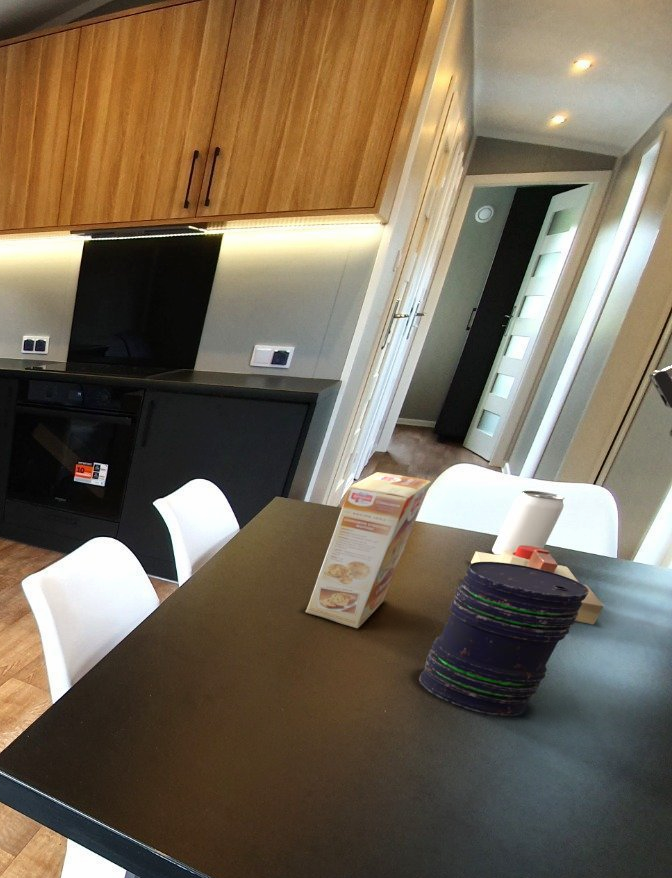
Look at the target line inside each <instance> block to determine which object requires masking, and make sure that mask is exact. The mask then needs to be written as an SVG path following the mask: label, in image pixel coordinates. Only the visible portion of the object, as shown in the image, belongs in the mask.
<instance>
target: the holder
mask: <svg viewBox="0 0 672 878" xmlns="http://www.w3.org/2000/svg"><path fill="white" fill-rule="evenodd" d="M555 561H556V559H554V558H553V556H552V555H551V554H550V551H549V550H547V549H544V550H542V549H536V550H534V552H533V554H532V556H531V558H530V560H529V562H528V564H527V567H532V568H537V569H541V570H545V571H549V572H552V573H554V571H555V569H556V567H557V565H559V564H558V563H557V561H556V562H555Z"/></svg>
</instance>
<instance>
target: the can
mask: <svg viewBox="0 0 672 878" xmlns="http://www.w3.org/2000/svg"><path fill="white" fill-rule="evenodd" d="M564 500H565V496H563V495H560V494H556V493H553V492H552V493H551V492H546V491H540V490H539V491H538V490H522V491H521V494H519V496H517V497H516V498H515V499H514V501H513V503H512V505H511V507H510V509H509V512H508V513H507V515H506V518H505V520H504V522H503V525H502V527H501V529H500V531H499V533H498V535H497V537H496V540H495V542H494V544H493V546H492V549H491V551H492V554H494V555H500V556H501V554H502V552H503V551H505V550H517V548H518V546H521V545H525V546H533V547H538V548H541V549H545V546H546V545H547V542H548V540H549V538H550V536H551V534H552V532H553V530H554V529H555V526H556V524H557V522H558V520H559V518H560V517H561V514H562V511H563V509H564V508H565V507H564Z"/></svg>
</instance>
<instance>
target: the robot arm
mask: <svg viewBox="0 0 672 878" xmlns="http://www.w3.org/2000/svg"><path fill="white" fill-rule="evenodd" d="M648 377H649V379H650V381H651V382H652V384H653V386H654V388H655V389H656V392H657V393H658V395H659V397H660V399H661V401H662V402H663V404H664V406H665V407H666V408H669V409H672V365H671V366H667V367H664V368H663V369H657V370H653V371H651V372H650V373H649V375H648ZM669 436H670V437H672V428H671V429H670V430H669Z"/></svg>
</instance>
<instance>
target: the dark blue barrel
mask: <svg viewBox="0 0 672 878" xmlns="http://www.w3.org/2000/svg"><path fill="white" fill-rule="evenodd" d="M466 574H467V575H466ZM466 574H465V576H464V577H463V578H462V581H461V583H460V584H459V585H458V587H457V589H456V592H455V594H454V598H453V600H452V601H451V603H450V608H449V610H450V614H449V616H448V618H447V621H446V623H445V625H444V628H443V629H442V632H441V634H440V635H438V636H437V637H436V638H435V640H434V641H433V642H432V646H431V648H430V650H429V651H428V654H427V656H426V659H425V660H426V662H425V664H424V666H423V668H424V669H423V670H422V671H421V672H420V675H419V677H418V680H419V683H420V685H422V686H423V687H424V689H425V690H427V691H428V692H430V693H431V694H433V695H434V696H436V697H438V698H440V699H442V700H443V701H446V702H448V703H450V704H453V705H456V706H458V707H461V708H464V709H467V710H470V711H473V712H478V713H483V714H487V715H493V716H499V717H500V716H501V717H504V716H505V717H512V716H518V715H521V714H524V712H525V710H526V708H527V702H529V701H530V700H531V699H532V697H533V695H535V694H536V693H537V691H538V689H539V687H540V685H541V684H542V683H541V682H542V680H543V679H545V678H546V673H547V671H548V669H547V666H546V665H547V663H549V662H548V661H549V660H550V658H551V656H552V654H553V653H554V650H555V649H556V647H557V645H558V643H559V642H560V641H562V640H564V639H565V637H566V636H567V635H568V634H569V633H570V628H571V626H573V624H574V623H575V622H576V621H575V619H576V618H577V616H578V611H579V609H580V607H581V605H582V602H581V601H582V600H584V599H585V598H586V596H587V594H588V592H589V589H588V588H587V587H586V586H584V585H585V584H584V585H583V583H581V582H579V581H578V580H577V581H578V582H577V581H575V580H573V579H570V578H568V577H565V576H562V575H559V574H556V573H552V572H549V571H545V570H541V569H537V568H532V567H527V566H522V565H516V564H510V563H501V562H475V563H472V564H471V563H470V564H469V566H468V567H467V570H466Z"/></svg>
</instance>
